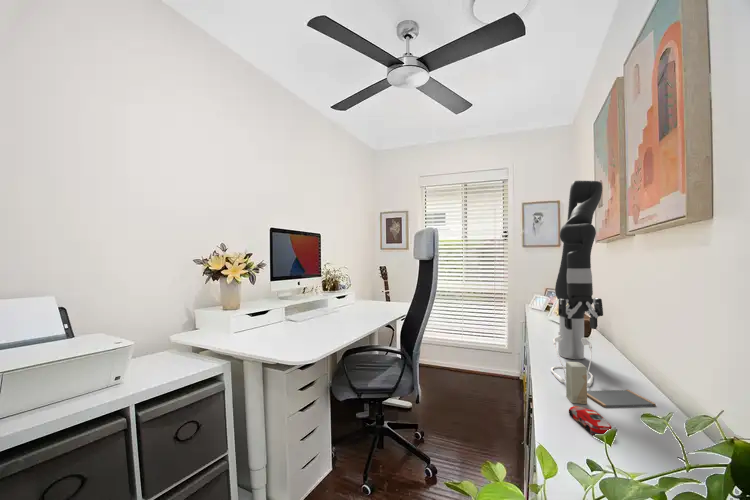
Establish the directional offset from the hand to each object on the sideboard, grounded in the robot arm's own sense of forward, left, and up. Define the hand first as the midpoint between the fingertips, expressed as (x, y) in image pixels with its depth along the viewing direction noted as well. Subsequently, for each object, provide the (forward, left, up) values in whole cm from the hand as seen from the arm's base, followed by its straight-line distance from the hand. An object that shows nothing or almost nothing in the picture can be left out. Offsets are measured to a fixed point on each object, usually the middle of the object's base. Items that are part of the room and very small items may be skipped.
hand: (581, 328), depth 114 cm
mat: (+12, +3, -19) cm, 22 cm away
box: (+12, -10, -19) cm, 24 cm away
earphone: (-7, +1, -19) cm, 21 cm away
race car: (+26, -16, -20) cm, 36 cm away
